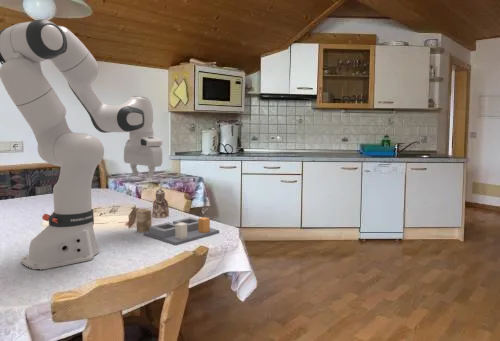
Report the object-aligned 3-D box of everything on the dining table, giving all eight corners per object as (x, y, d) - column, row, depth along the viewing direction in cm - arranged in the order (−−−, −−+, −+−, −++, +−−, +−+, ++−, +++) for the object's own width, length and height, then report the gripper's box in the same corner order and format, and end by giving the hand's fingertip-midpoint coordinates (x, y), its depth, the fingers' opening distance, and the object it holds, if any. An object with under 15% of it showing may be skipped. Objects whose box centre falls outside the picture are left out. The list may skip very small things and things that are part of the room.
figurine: (150, 218, 184) (150, 190, 183) (154, 214, 191) (153, 188, 190) (167, 217, 185) (166, 190, 183) (170, 214, 192) (169, 188, 190)
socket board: (175, 245, 146) (175, 228, 145) (143, 234, 159) (142, 219, 158) (219, 232, 162) (219, 217, 161) (186, 224, 174) (186, 209, 173)
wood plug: (142, 232, 161) (142, 212, 160) (136, 230, 164) (136, 210, 163) (151, 230, 164) (151, 210, 163) (145, 228, 167) (145, 208, 166)
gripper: (119, 139, 164) (120, 174, 166) (150, 141, 151) (151, 180, 152) (133, 138, 169) (134, 173, 170) (165, 141, 155) (165, 178, 157)
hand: (142, 176), depth 161 cm, fingers open, 8 cm apart
